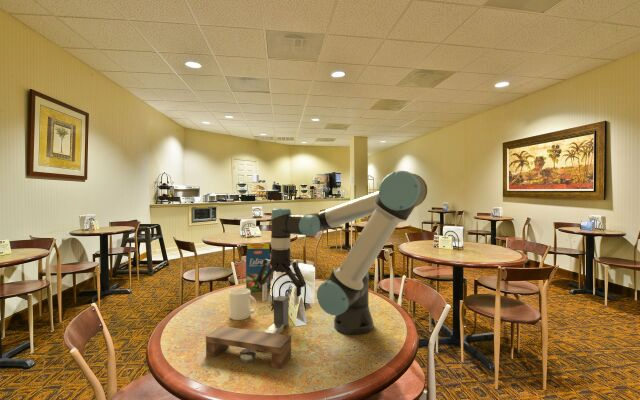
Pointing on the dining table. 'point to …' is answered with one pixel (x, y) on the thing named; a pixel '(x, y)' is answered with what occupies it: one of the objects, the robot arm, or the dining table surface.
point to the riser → (250, 343)
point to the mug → (241, 303)
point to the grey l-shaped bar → (280, 315)
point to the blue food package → (256, 265)
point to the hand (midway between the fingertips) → (280, 302)
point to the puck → (247, 356)
